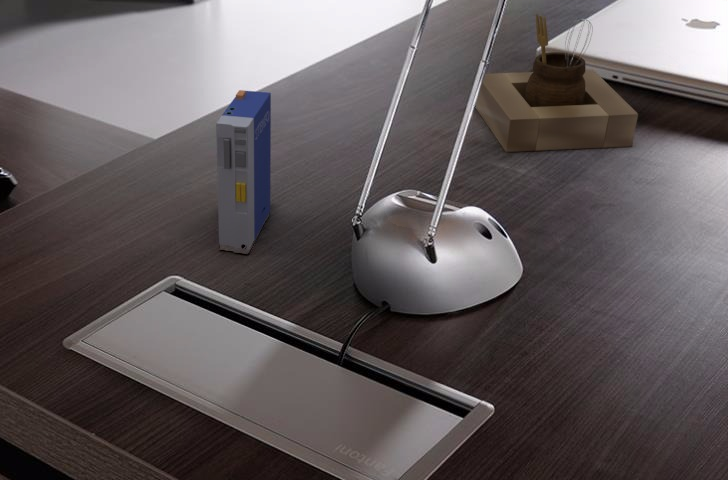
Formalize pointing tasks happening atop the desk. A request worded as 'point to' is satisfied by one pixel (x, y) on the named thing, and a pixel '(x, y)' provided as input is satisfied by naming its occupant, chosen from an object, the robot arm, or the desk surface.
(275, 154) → the desk surface
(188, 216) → the desk surface
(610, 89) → the socket pad
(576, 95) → the utensil holder
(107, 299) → the desk surface
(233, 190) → the blue grey plc module
